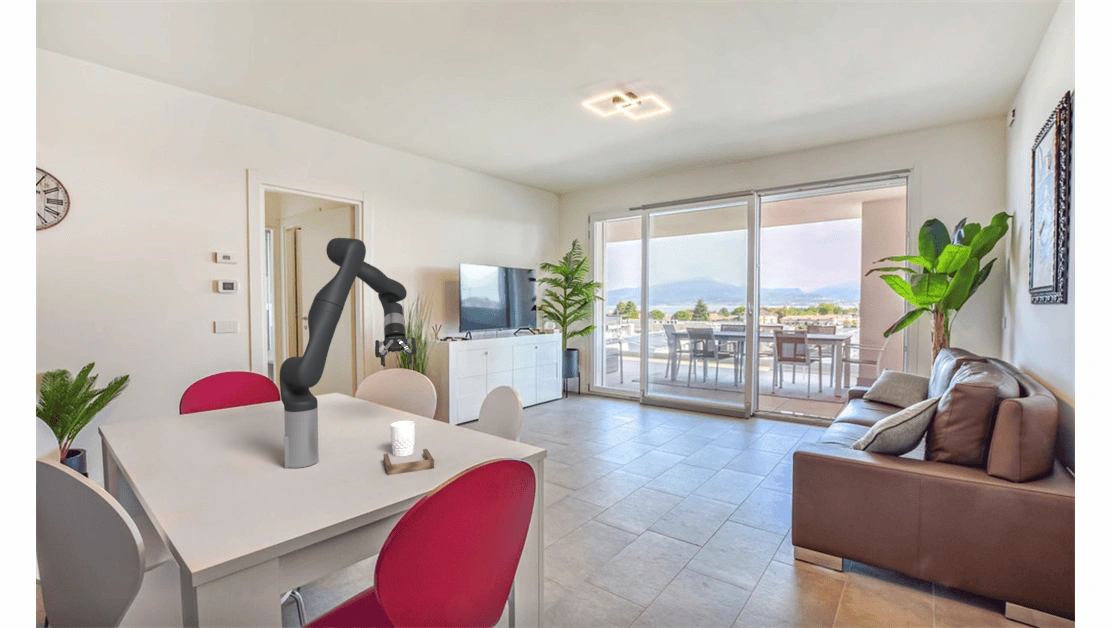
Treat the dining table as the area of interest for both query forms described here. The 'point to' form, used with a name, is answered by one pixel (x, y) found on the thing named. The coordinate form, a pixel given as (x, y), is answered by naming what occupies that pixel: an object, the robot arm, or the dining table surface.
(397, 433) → the white cup
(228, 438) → the dining table surface
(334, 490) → the dining table surface
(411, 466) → the wooden bracket
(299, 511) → the dining table surface
